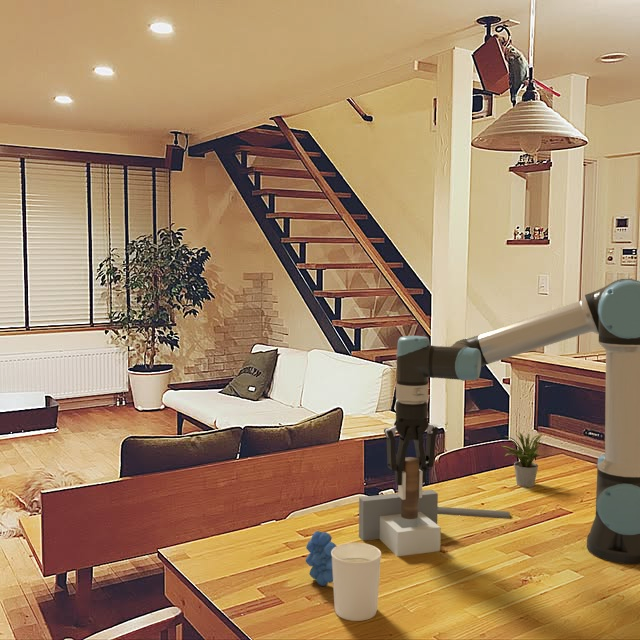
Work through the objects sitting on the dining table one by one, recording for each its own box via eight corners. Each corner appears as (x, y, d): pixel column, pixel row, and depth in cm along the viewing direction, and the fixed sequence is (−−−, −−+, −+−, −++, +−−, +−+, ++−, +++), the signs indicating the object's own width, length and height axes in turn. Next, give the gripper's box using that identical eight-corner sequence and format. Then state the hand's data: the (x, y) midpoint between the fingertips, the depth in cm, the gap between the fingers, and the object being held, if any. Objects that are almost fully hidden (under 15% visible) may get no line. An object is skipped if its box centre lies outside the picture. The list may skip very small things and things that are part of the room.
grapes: (354, 591, 155) (354, 535, 154) (325, 598, 151) (326, 542, 150) (325, 570, 165) (326, 518, 164) (299, 577, 161) (299, 523, 160)
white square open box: (440, 551, 176) (440, 527, 175) (397, 557, 173) (397, 532, 172) (420, 534, 186) (420, 511, 186) (379, 539, 183) (379, 516, 183)
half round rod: (510, 521, 197) (510, 514, 197) (435, 516, 201) (435, 509, 200) (509, 515, 201) (509, 509, 201) (436, 510, 205) (436, 504, 205)
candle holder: (377, 599, 151) (378, 542, 150) (383, 623, 142) (384, 562, 140) (329, 599, 151) (329, 542, 150) (332, 623, 141) (332, 563, 140)
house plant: (521, 473, 237) (522, 423, 236) (559, 484, 227) (561, 431, 225) (493, 482, 228) (494, 430, 227) (531, 493, 218) (533, 439, 216)
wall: (437, 531, 188) (437, 493, 187) (363, 540, 182) (363, 501, 181) (431, 527, 191) (432, 489, 190) (358, 536, 185) (359, 497, 184)
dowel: (420, 518, 178) (421, 461, 176) (405, 519, 176) (406, 462, 175) (413, 512, 181) (414, 456, 180) (398, 514, 180) (399, 457, 179)
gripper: (385, 406, 170) (383, 505, 172) (450, 402, 175) (448, 498, 177) (373, 399, 177) (371, 495, 180) (436, 396, 182) (434, 489, 185)
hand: (410, 496), depth 178 cm, fingers closed on dowel, 4 cm apart
